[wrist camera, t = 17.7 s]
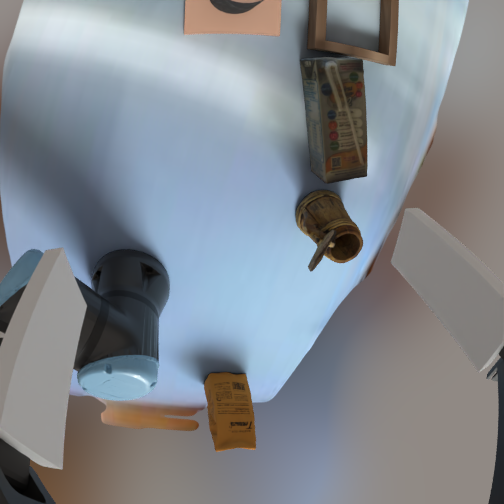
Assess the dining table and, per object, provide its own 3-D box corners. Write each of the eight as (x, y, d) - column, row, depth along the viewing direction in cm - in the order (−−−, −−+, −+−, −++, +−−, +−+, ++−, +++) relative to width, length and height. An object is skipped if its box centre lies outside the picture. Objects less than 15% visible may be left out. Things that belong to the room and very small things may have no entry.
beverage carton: (345, 56, 36) (367, 57, 31) (351, 165, 48) (370, 180, 43) (297, 58, 36) (315, 57, 31) (309, 172, 47) (325, 188, 42)
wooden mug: (289, 171, 46) (337, 227, 32) (350, 200, 52) (405, 258, 37) (264, 216, 50) (297, 287, 36) (325, 239, 56) (369, 304, 41)
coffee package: (239, 389, 83) (253, 454, 65) (199, 386, 78) (208, 456, 61) (251, 372, 78) (269, 442, 60) (209, 369, 73) (220, 445, 56)
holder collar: (307, 49, 35) (314, 48, 32) (310, -29, 27) (318, -34, 24) (384, 64, 37) (395, 66, 35) (388, -6, 29) (398, -8, 27)
